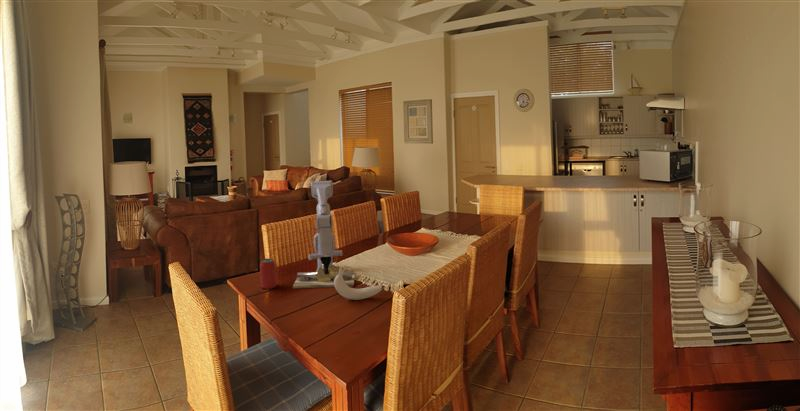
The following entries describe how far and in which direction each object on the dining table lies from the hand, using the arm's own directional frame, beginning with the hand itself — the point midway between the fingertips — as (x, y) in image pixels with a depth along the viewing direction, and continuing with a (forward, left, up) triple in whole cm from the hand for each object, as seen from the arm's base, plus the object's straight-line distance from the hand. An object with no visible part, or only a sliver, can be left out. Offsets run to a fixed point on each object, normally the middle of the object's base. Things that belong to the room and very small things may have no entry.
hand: (326, 273), depth 204 cm
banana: (+14, +14, -7) cm, 21 cm away
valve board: (-8, -2, -7) cm, 11 cm away
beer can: (-4, -26, -7) cm, 27 cm away
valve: (-8, -2, -5) cm, 10 cm away
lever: (-3, 0, 0) cm, 3 cm away
